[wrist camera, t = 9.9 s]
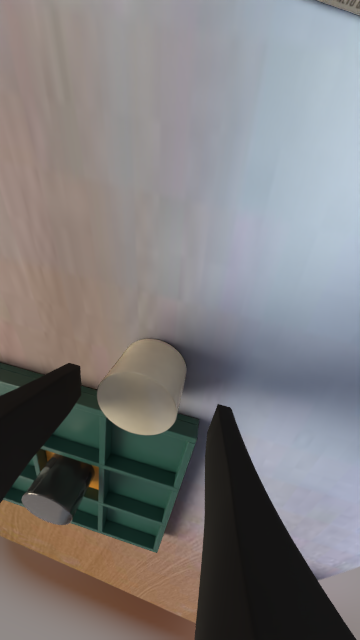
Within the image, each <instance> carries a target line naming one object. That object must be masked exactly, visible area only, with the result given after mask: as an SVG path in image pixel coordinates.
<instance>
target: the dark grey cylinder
mask: <svg viewBox="0 0 360 640" xmlns="http://www.w3.org/2000/svg"><path fill="white" fill-rule="evenodd" d="M94 476H95V470H94V468H93V466H92V465H91V464H88V463H84V462H81V461H78V460H75V459H72V458H69V457H66V456H62V455H59V454H56V453H54V454H53V455H52V457H51V458H50V460H49V461H48V462H47V464H46V465H45V466H44V468H43V469H42V470H41V472H40V473H39V474H38V476H37V477H36V478H35V480H34V481H33V482H32V484H31V485H30V487H29V488H28V489H27V491H26V492H25V493H24V495H23V496H22V503H23V505H24V506H25V507H26V508H27V510H29V511H30V512H31V513H32V514H34V515H35V516H37V517H38V518H40V519H42V520H44V521H47V522H50V523H53V524H58V525H66V524H69V523H70V522H71V521H72V520H73V518H74V516H75V514H76V512H77V510H78V508H79V506H80V504H81V502H82V500H83V498H84V496H85V494H86V492H87V490H88V488H89V486H90V484H91V482H92V480H93V478H94Z"/></svg>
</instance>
